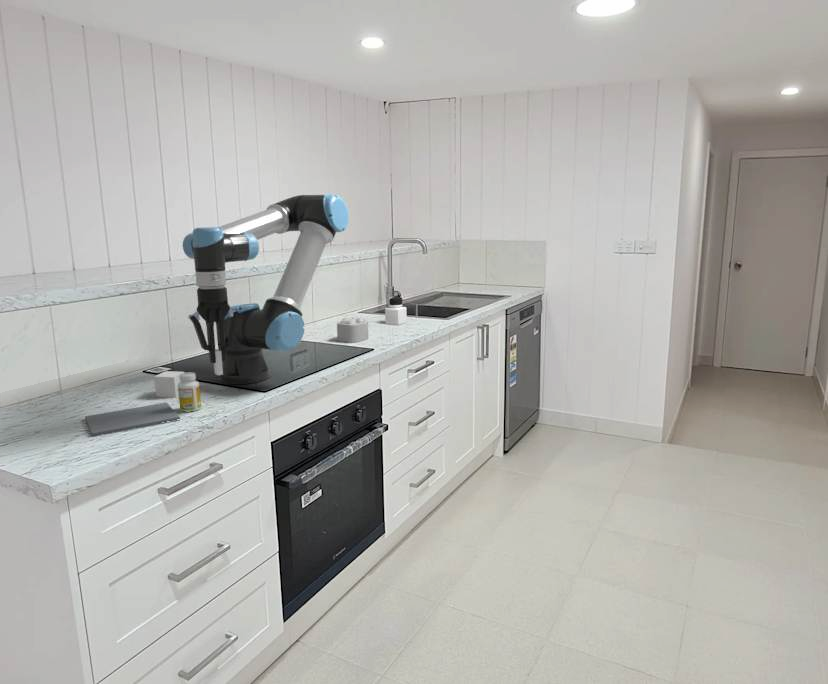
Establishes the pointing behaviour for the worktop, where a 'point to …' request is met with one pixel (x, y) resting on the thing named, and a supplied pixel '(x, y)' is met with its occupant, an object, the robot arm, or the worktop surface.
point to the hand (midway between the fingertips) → (218, 373)
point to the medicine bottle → (395, 312)
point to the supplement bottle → (189, 392)
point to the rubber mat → (130, 418)
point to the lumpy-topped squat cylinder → (352, 330)
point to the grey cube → (167, 384)
